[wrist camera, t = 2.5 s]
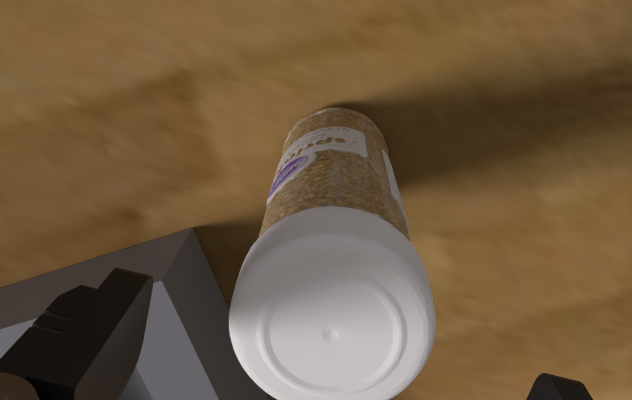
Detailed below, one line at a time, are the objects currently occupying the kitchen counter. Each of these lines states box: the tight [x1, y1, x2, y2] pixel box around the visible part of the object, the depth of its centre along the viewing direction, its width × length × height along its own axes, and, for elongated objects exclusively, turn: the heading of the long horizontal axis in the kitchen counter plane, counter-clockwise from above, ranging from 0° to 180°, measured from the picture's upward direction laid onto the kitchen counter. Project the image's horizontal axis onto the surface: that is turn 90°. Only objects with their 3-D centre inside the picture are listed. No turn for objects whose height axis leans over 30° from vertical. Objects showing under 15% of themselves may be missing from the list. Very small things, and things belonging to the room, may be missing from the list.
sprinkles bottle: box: [229, 107, 436, 400], centre depth 19 cm, size 5×5×14 cm
